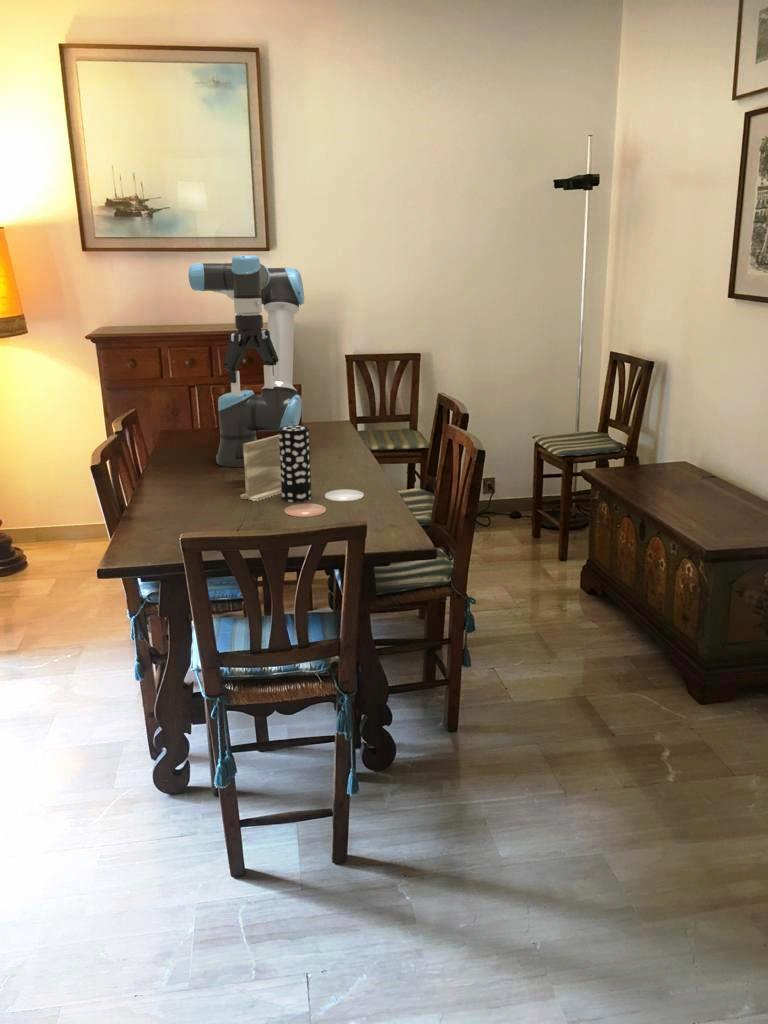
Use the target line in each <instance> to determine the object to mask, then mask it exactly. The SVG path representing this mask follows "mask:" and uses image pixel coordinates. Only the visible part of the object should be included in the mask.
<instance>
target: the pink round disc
mask: <svg viewBox="0 0 768 1024" xmlns="http://www.w3.org/2000/svg"><path fill="white" fill-rule="evenodd" d="M326 512H327V508H326V507H325V506H324V505H321V504H317V503H297V504H293V505H290V506H287V507H286V508H285V509H284V514H286V515H288V516H289V515H290V517H295V518H311V517H312V518H313V517H317V516H321V515H323V514H325V513H326Z"/></svg>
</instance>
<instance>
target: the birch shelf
mask: <svg viewBox="0 0 768 1024" xmlns="http://www.w3.org/2000/svg"><path fill="white" fill-rule="evenodd" d="M243 451H244V481H245V483H244V484H245V493H242V494H240V499H243V500H246V499H248V500H247V501H250V500H252V502H255V501H257V502H260V501H263V500H265V498H266V499H269V498H271V496H272V497H274V495H275V496H277V495H280V494H282V491H281V470H280V449H279V434H276V435H273V436H268V437H264V438H261V439H257V440H256V441H252V442H248V443H244V444H243ZM268 497H269V498H268ZM262 499H263V500H262ZM259 500H260V501H259Z"/></svg>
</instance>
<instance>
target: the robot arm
mask: <svg viewBox="0 0 768 1024" xmlns="http://www.w3.org/2000/svg"><path fill="white" fill-rule="evenodd" d="M188 282H189V286H190V288H191V289H192V290H193V291H200V292H214V293H218V294H223V295H226V296H227V297H228V298H230V299H232V300H233V302H234V303H233V307H234V313H235V314H236V315H235V316H234V320H235V321H234V323H235V325H234V326H235V328H236V329H237V333H229V334H228V335H229V338H228V339H229V340H228V345H227V349H226V353H225V355H224V360H223V362H222V363H223V364H222V369H223V370H225V371H228V376H229V377H228V380H229V384H230V389H231V390H230V392H227V393H224V394H222V395H221V396H219V397H218V400H217V407H218V408H217V412H218V425H219V434H220V435H219V436H220V437H219V438H220V441H219V446H218V452H217V454H216V455H215V457H216V459H215V460H216V464H217V465H218V466H221V467H227V468H228V467H229V468H230V467H231V468H243V467H244V451H243V444H244V443H248V442H252V441H256V440H258V439H257V432H279V428H280V427H283V426H290V425H299V424H300V421H301V417H302V411H303V410H302V409H303V408H302V407H303V405H302V403H303V402H302V397H301V395H299V394H298V390H297V389H296V387H294V385H293V380H294V379H293V372H294V339H295V338H294V337H295V336H294V335H295V315H296V314H297V313H298V312H299V311H300V306H302V305H303V304H305V290H304V284H303V280H302V274H301V272H300V271H299V270H298V269H297V268H295V267H266V266H265V265H264V264H263V263H261V262H260V257H259V256H258V255H234V256H232V257H231V262H224V263H221V262H220V263H217V262H213V263H209V262H208V263H207V262H206V263H204V262H199V263H192V264H191V265H190V266H189V268H188ZM262 305H263V306H262ZM263 310H265V312H266V313H267V330H265V329H264V330H263V327H264V320H263V319H264V318H263V315H262V314H261V313H262V312H263ZM252 349H255V350H256V352H257V353H258V354H259V356H260V357H261V358H260V359H262V360H263V362H264V365H263V378H264V381H263V383H264V386H263V387H262V388H261V389H260V394H255V392H254V391H253V390H252V389H246V390H245V389H244V390H241V381H240V380H241V378H240V371H239V370H238V369H239V366H240V365H241V362H242V360H243V358H244V356H245V354H246V352H248V350H252ZM244 468H245V467H244Z"/></svg>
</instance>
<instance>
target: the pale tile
mask: <svg viewBox="0 0 768 1024" xmlns="http://www.w3.org/2000/svg"><path fill="white" fill-rule="evenodd" d="M364 495H365V494H364V493H363V492H362V491H360V490H357V489H349V488H348V489H346V488H345V489H334V490H331V491H328V492H327V491H326V493H325V494H324V497H325V499H326V500H328V501H333V502H341V503H342V502H345V503H346V502H353V501H359V500H360V499H363V498H364V497H365V496H364Z"/></svg>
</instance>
